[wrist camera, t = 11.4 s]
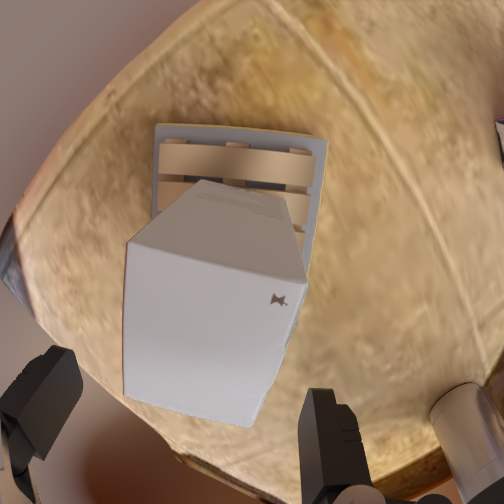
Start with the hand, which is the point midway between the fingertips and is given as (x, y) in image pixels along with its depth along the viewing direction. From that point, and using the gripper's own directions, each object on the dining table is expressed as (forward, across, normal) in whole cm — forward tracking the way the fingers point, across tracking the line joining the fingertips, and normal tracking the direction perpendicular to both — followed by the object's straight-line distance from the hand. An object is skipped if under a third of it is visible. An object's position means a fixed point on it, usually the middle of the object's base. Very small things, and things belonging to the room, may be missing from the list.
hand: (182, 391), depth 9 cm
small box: (+15, 0, 0) cm, 15 cm away
